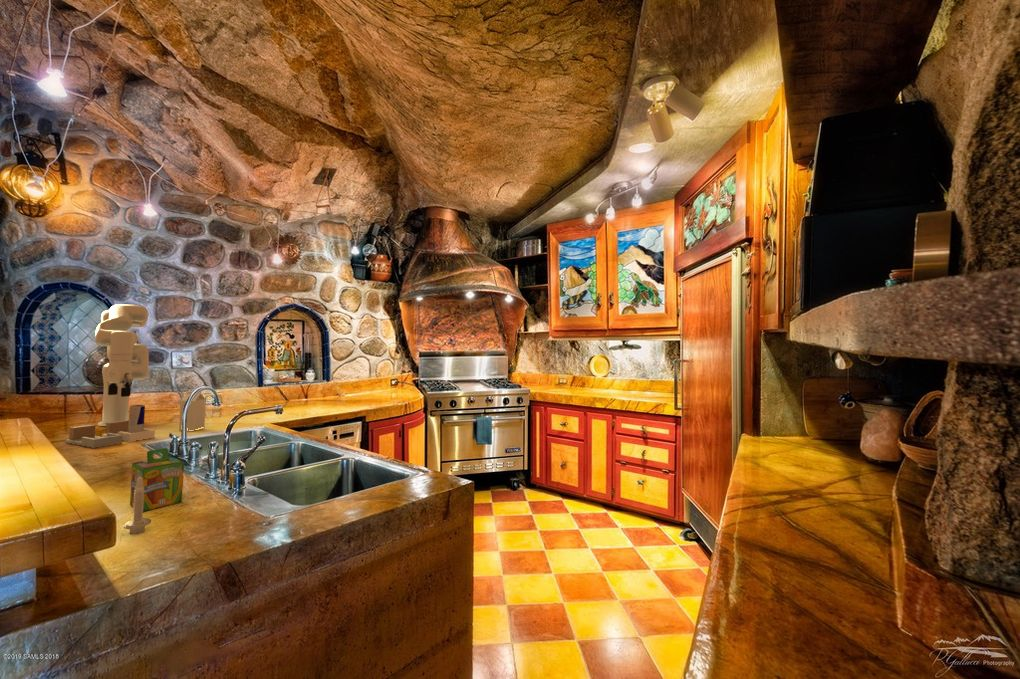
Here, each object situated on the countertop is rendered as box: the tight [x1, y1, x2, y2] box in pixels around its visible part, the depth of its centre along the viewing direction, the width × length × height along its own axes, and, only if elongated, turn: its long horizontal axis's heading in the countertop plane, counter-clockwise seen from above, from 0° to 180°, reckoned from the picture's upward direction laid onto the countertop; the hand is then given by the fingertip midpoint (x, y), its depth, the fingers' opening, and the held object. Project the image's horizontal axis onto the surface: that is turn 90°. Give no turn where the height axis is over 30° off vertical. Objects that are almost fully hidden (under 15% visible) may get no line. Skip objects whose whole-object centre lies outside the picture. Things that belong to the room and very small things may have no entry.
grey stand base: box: [65, 424, 123, 449], centre depth 172 cm, size 20×9×6 cm, turn 70°
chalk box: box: [129, 447, 185, 512], centre depth 113 cm, size 9×9×15 cm
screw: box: [123, 477, 152, 535], centre depth 96 cm, size 13×5×5 cm
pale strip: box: [101, 420, 156, 443], centre depth 183 cm, size 20×9×6 cm, turn 70°
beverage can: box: [128, 404, 146, 433], centre depth 181 cm, size 5×5×15 cm
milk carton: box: [178, 390, 207, 432], centre depth 202 cm, size 7×7×19 cm
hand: (119, 395), depth 186 cm, fingers open, 9 cm apart
